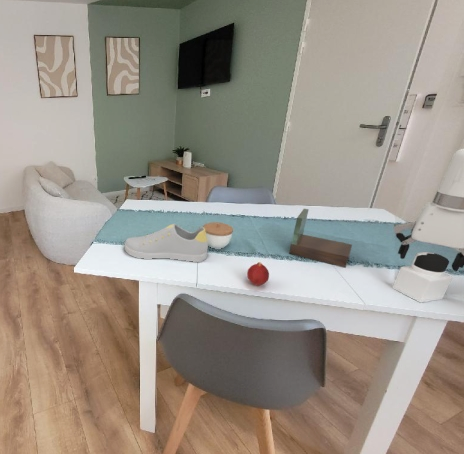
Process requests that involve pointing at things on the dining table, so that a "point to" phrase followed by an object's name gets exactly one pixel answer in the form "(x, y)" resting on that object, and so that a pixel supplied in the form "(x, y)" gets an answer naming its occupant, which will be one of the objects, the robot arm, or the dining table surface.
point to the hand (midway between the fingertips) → (427, 262)
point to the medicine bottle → (424, 277)
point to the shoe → (170, 244)
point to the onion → (258, 274)
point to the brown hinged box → (318, 246)
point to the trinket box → (218, 234)
